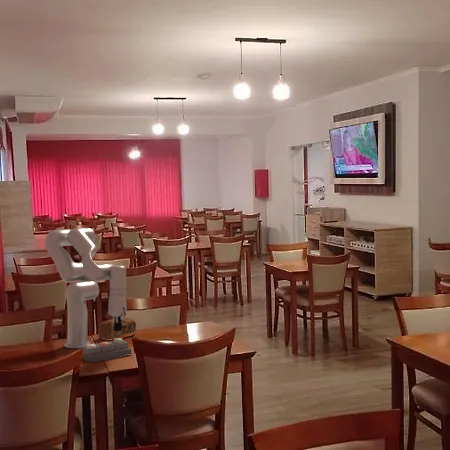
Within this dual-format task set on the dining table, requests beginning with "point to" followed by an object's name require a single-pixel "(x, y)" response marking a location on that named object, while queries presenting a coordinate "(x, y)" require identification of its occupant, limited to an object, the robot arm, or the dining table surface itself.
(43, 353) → the dining table surface
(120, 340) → the sage button
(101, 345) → the terracotta button
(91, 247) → the robot arm
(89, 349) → the button panel
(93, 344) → the cream button
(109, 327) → the bread
